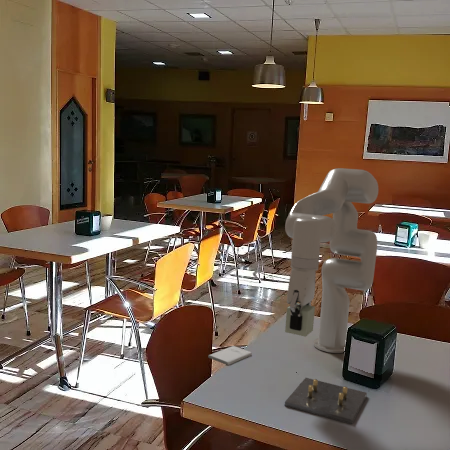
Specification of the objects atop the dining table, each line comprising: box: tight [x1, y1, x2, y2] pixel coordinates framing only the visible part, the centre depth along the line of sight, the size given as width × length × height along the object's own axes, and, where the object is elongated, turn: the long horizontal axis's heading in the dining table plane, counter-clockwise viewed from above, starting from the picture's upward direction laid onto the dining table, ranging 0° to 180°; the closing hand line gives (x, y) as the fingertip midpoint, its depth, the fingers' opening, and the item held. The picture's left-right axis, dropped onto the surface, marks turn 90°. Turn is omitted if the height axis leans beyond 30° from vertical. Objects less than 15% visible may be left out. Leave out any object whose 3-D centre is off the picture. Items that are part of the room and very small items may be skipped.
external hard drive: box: [208, 345, 253, 366], centre depth 176 cm, size 2×8×12 cm
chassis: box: [284, 377, 368, 425], centre depth 148 cm, size 18×18×4 cm
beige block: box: [284, 302, 316, 338], centre depth 149 cm, size 6×6×7 cm
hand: (299, 325), depth 150 cm, fingers closed on beige block, 6 cm apart
